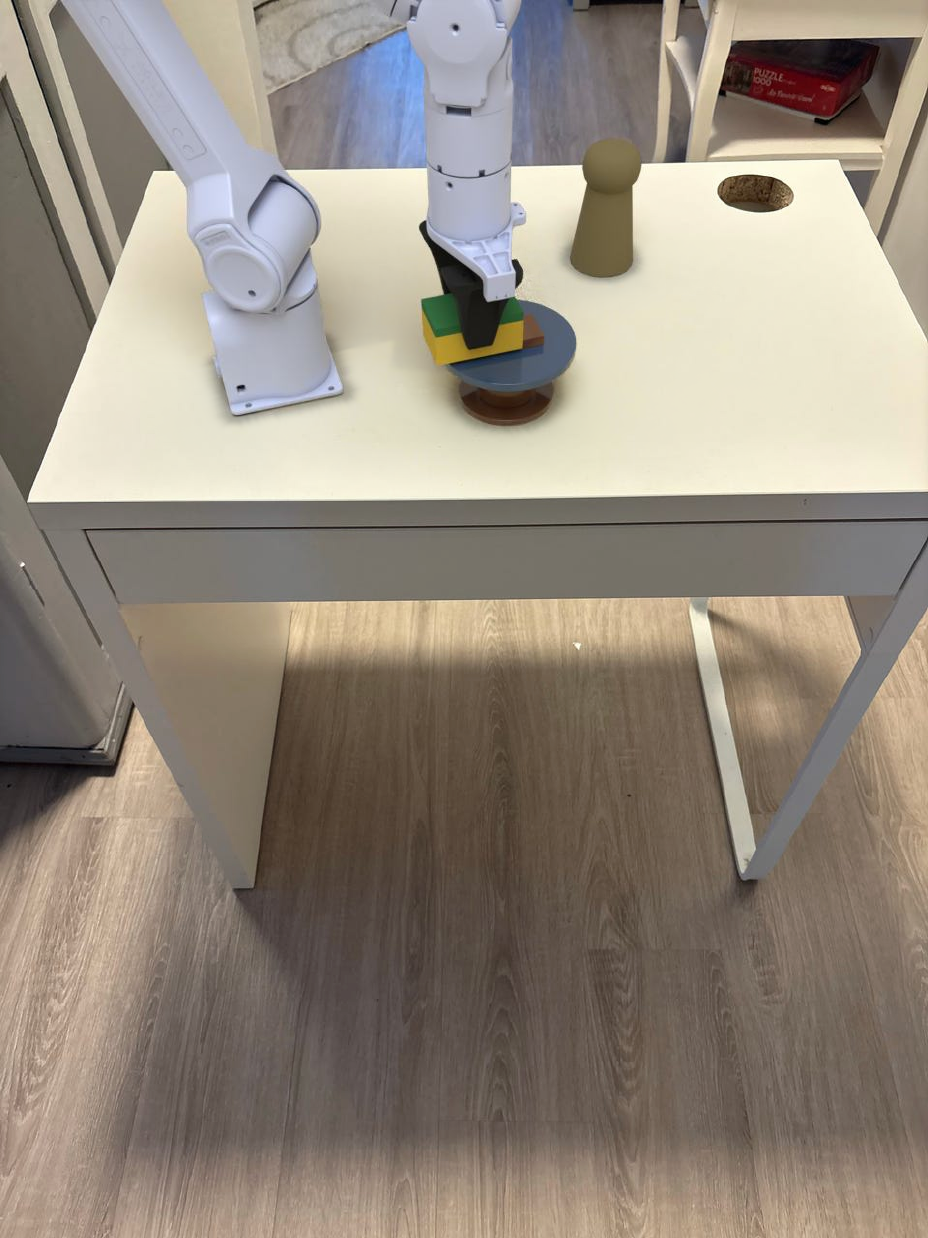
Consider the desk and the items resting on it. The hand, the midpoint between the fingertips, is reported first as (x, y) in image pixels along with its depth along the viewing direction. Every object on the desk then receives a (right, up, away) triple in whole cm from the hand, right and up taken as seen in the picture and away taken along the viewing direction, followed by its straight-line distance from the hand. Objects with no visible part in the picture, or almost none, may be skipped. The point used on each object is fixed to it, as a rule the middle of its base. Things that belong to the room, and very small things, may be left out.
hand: (470, 327), depth 76 cm
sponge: (0, -1, +1) cm, 1 cm away
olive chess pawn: (+13, +12, +18) cm, 25 cm away
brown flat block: (+4, 0, +2) cm, 5 cm away
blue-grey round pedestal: (+3, -4, +6) cm, 8 cm away
